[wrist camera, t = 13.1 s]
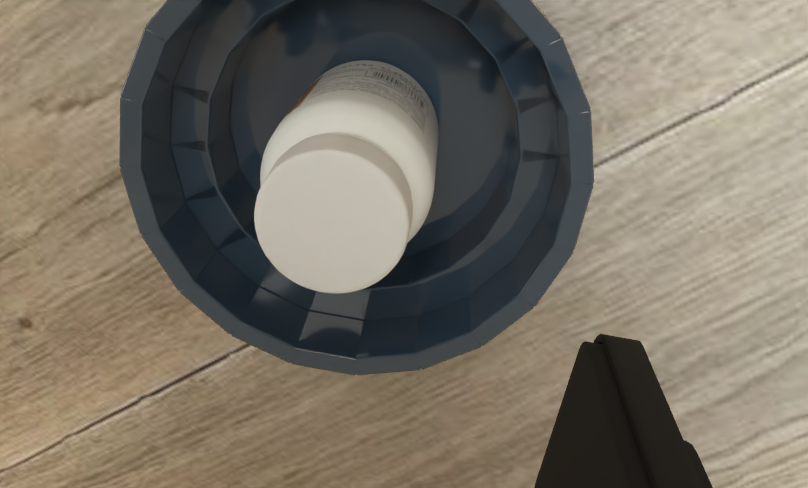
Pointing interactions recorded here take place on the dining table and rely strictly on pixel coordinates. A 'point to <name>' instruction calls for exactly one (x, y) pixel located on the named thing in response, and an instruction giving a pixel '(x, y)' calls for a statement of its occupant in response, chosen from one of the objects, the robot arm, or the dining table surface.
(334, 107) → the pill bottle
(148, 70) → the bowl
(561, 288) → the dining table surface
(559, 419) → the robot arm
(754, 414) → the dining table surface
